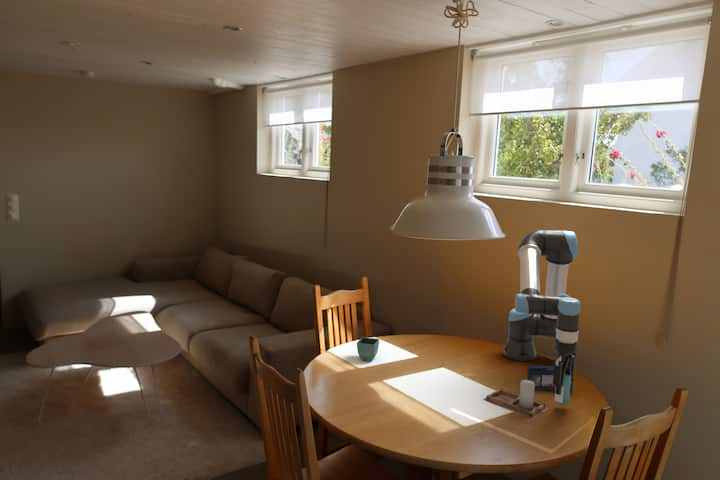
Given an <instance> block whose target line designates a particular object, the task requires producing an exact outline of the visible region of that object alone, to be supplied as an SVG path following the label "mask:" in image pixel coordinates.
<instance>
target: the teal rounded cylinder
mask: <svg viewBox="0 0 720 480" xmlns="http://www.w3.org/2000/svg"><path fill="white" fill-rule="evenodd" d="M570 383H571V376H570V375H568V374H565V375H564V380H563V386H564V389H563V402H562V403H559V402H557V401H555V402H556V403H557V404H561V405H568V404H569V403H570V393H571V391H570Z"/></svg>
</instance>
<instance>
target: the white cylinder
mask: <svg viewBox="0 0 720 480" xmlns="http://www.w3.org/2000/svg"><path fill="white" fill-rule="evenodd" d="M519 384H520V387H519V395H520V400H519V407H521V408H523V409H526V410H529V411H532V410H533V402H534V401H535V400H534V399H535V389H534V387H535V383H534V382H532V381H530V380H527V379H523V380H521V381H520V383H519Z"/></svg>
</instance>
